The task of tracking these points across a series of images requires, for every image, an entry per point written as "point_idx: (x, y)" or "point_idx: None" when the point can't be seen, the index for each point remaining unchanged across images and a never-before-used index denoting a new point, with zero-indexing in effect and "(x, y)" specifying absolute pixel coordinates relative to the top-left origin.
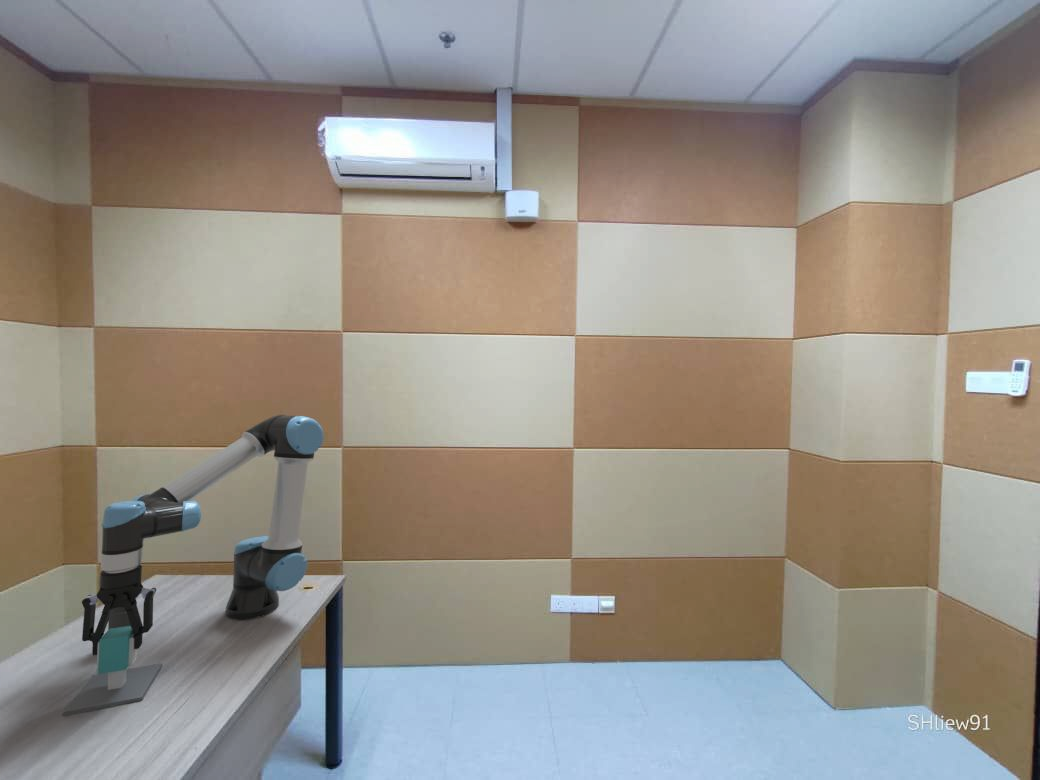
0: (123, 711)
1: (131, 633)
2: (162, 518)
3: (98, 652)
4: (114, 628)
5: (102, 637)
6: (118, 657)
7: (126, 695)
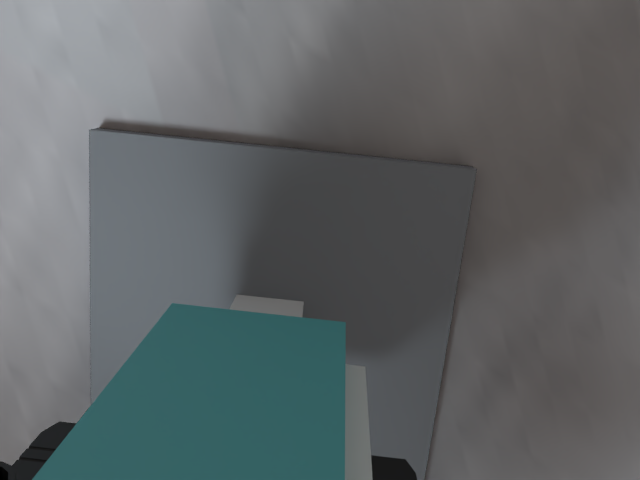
0: (167, 55)
1: None
2: None
3: (361, 451)
4: None
5: None
6: (196, 356)
7: (184, 190)
